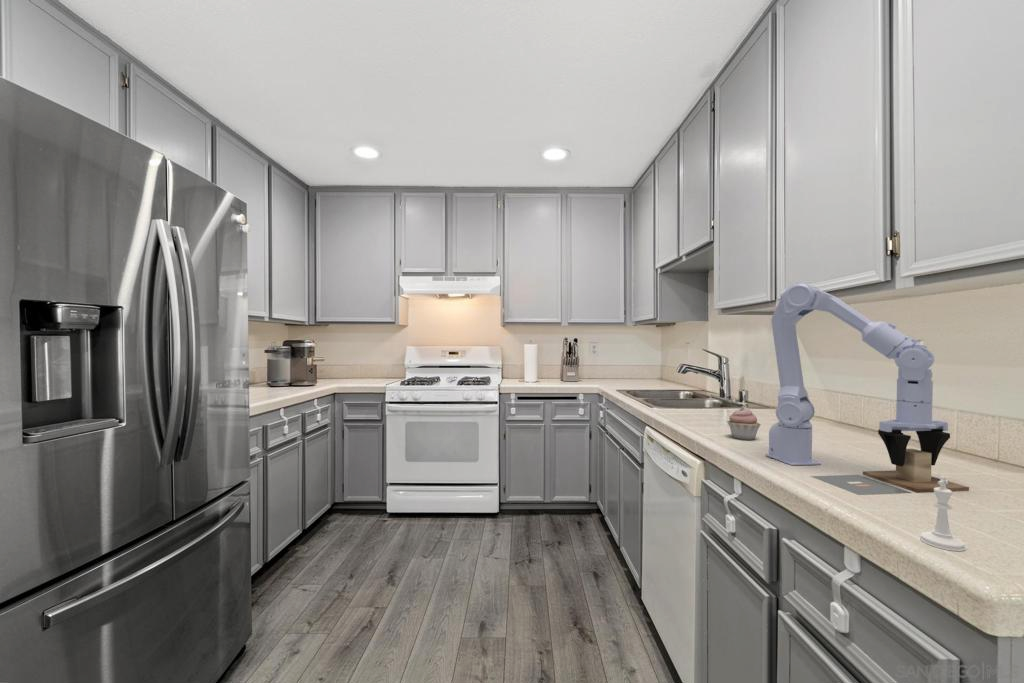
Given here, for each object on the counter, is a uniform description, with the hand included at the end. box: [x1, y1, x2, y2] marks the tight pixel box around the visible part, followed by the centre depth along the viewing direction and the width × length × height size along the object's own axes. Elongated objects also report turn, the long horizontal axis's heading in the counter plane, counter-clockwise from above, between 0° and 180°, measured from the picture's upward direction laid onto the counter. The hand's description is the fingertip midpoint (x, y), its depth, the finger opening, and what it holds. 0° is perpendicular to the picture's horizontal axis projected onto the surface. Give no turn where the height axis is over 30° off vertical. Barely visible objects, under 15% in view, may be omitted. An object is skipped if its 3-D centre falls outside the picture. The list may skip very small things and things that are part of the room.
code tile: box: [810, 474, 912, 496], centre depth 94 cm, size 12×12×1 cm
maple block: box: [895, 448, 932, 482], centre depth 96 cm, size 4×4×6 cm
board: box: [862, 469, 970, 494], centre depth 96 cm, size 12×12×1 cm
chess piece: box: [919, 475, 967, 552], centre depth 67 cm, size 5×5×10 cm
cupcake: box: [726, 405, 761, 441], centre depth 138 cm, size 9×9×10 cm
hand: (912, 464), depth 96 cm, fingers open, 7 cm apart
